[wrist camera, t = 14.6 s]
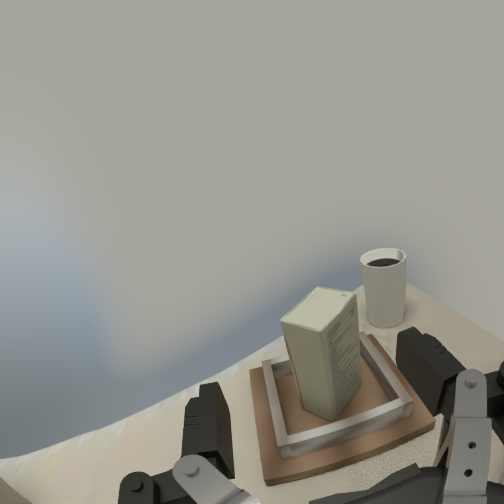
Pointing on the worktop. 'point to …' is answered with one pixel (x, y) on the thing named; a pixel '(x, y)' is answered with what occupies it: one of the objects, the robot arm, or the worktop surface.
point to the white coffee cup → (384, 286)
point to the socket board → (342, 427)
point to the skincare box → (324, 350)
